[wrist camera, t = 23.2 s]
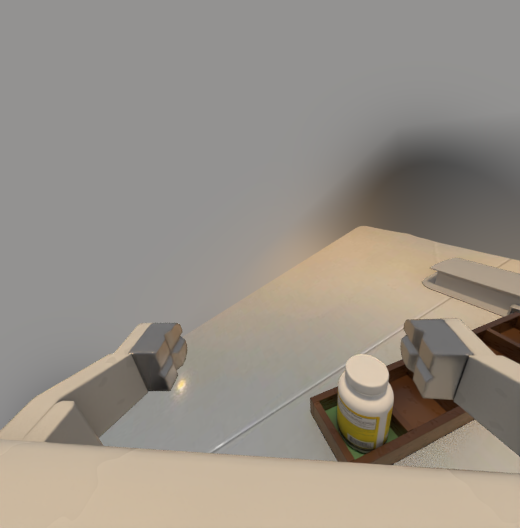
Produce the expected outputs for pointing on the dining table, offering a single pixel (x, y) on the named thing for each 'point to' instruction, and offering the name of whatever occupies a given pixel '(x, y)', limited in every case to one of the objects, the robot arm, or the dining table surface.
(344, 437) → the supplement bottle
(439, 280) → the grey hinged lid tray
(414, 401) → the rack
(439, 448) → the dining table surface
